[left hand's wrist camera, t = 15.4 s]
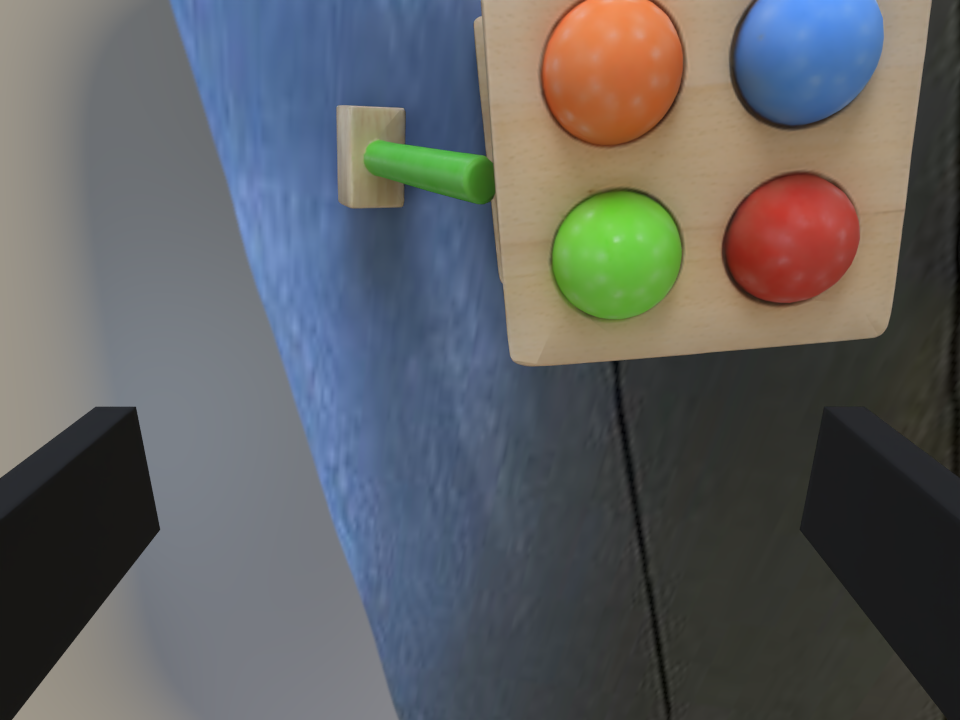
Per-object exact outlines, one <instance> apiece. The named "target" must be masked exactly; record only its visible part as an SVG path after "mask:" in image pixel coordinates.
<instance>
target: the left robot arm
mask: <svg viewBox="0 0 960 720" xmlns="http://www.w3.org/2000/svg"><path fill="white" fill-rule="evenodd" d="M958 261H959V270H960V235H959V244H958ZM159 530H160V526H159V522H158V516H157V511H156V506H155V501H154V496H153V491H152V486H151V481H150V476H149V471H148V466H147V461H146V456H145V451H144V445H143V440H142V435H141V430H140V425H139V420H138V415H137V410H136V407H95V408H93V409H92V410H91V411H89V412H88V413H87V414H85V415H84V416H83V417H81V418H80V419H79V420H77V421H76V422H75V423H73V424H72V425H71V426H69V427H68V428H67V429H65V430H64V431H63V432H61V433H60V434H59V435H57V436H56V437H55V438H53V439H52V440H51V441H49V442H48V443H47V444H45V445H44V446H43V447H41V448H40V449H39V450H37V451H36V452H35V453H33V454H32V455H31V456H29V457H28V458H27V459H25V460H24V461H23V462H21V463H20V464H19V465H17V466H16V467H15V468H13V469H12V470H11V471H9V472H8V473H7V474H5V475H4V476H3V477H1V478H0V720H12V719H13V718H14V716H15V715H16V714H17V713H18V711H19V710H20V709H21V707H22V706H23V705H24V704H25V702H26V701H27V700H28V699H29V697H30V696H31V695H32V693H33V692H34V691H35V690H36V688H37V687H38V686H39V684H40V683H41V682H42V681H43V679H44V678H45V677H46V675H47V674H48V673H49V671H50V670H51V669H52V668H53V666H54V665H55V664H56V663H57V661H58V660H59V659H60V657H61V656H62V655H63V654H64V652H65V651H66V650H67V648H68V647H69V646H70V645H71V643H72V642H73V641H74V639H75V638H76V637H77V636H78V634H79V633H80V632H81V630H82V629H83V628H84V627H85V625H86V624H87V623H88V621H89V620H90V619H91V618H92V616H93V615H94V614H95V613H96V611H97V610H98V609H99V607H100V606H101V605H102V603H103V602H104V601H105V600H106V598H107V597H108V596H109V595H110V593H111V592H112V591H113V589H114V588H115V587H116V586H117V584H118V583H119V582H120V580H121V579H122V578H123V577H124V575H125V574H126V573H127V572H128V570H129V569H130V568H131V566H132V565H133V564H134V562H135V561H136V560H137V559H138V557H139V556H140V555H141V554H142V552H143V551H144V550H145V548H146V547H147V546H148V545H149V543H150V542H151V541H152V539H153V538H154V537H155V536H156V534H157V533H158V532H159ZM800 530H801V532H802V533H803V534H804V536H805V537H806V538H807V539H808V541H809V542H810V543H811V545H812V546H813V547H814V548H815V550H816V551H817V552H818V554H819V555H820V556H821V557H822V559H823V560H824V561H825V563H826V564H827V565H828V566H829V568H830V569H831V570H832V572H833V573H834V574H835V575H836V577H837V578H838V579H839V580H840V582H841V583H842V584H843V586H844V587H845V588H846V589H847V591H848V592H849V593H850V595H851V596H852V597H853V598H854V600H855V601H856V602H857V604H858V605H859V606H860V607H861V609H862V610H863V611H864V613H865V614H866V615H867V616H868V618H869V619H870V620H871V622H872V623H873V624H874V625H875V627H876V628H877V629H878V631H879V632H880V633H881V634H882V636H883V637H884V638H885V640H886V641H887V642H888V643H889V645H890V646H891V647H892V648H893V650H894V651H895V652H896V654H897V655H898V656H899V657H900V659H901V660H902V661H903V663H904V664H905V665H906V666H907V668H908V669H909V670H910V672H911V673H912V674H913V675H914V677H915V678H916V679H917V681H918V682H919V683H920V684H921V686H922V687H923V688H924V690H925V691H926V692H927V693H928V695H929V696H930V697H931V699H932V700H933V701H934V702H935V704H936V705H937V706H938V708H939V709H940V710H941V711H942V713H943V714H944V715H945V716H946V718H947V719H948V720H960V478H959V477H958V476H956V475H955V474H953V473H952V472H951V471H949V470H948V469H947V468H945V467H944V466H943V465H941V464H940V463H939V462H937V461H936V460H935V459H933V458H932V457H931V456H929V455H928V454H927V453H925V452H924V451H923V450H921V449H920V448H919V447H917V446H916V445H915V444H913V443H912V442H911V441H909V440H908V439H907V438H905V437H904V436H903V435H901V434H900V433H899V432H897V431H896V430H895V429H893V428H892V427H891V426H889V425H888V424H887V423H885V422H884V421H883V420H881V419H880V418H879V417H877V416H876V415H875V414H873V413H872V412H871V411H869V410H868V409H867V408H865V407H824V410H823V415H822V420H821V425H820V430H819V435H818V440H817V445H816V451H815V456H814V461H813V466H812V471H811V476H810V481H809V486H808V491H807V496H806V501H805V506H804V511H803V516H802V521H801V526H800Z"/></svg>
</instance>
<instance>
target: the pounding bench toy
mask: <svg viewBox="0 0 960 720" xmlns="http://www.w3.org/2000/svg"><path fill="white" fill-rule="evenodd" d="M931 2H932V0H481V11H482V16H480V17H478V18H476V20H475V21H474V36H475V48H476V58H477V69H478V79H479V88H480V98H481V108H482V118H483V128H484V138H485V148H486V156H483V155H476V154H469V153H460V152H453V151H446V150H439V149H432V148H425V147H418V146H412V145H405V115H406V113H405V110H404V108H393V107H369V106H348V105H338V106H337V164H338V200H339V202H340V203H341V204H343V205H345V206H347V207H349V208H390V207H402V206H403V204H404V184H407V185H410V186H413V187H417V188H420V189H424V190H427V191H430V192H434V193H438V194H442V195H445V196H449V197H453V198H457V199H460V200H464V201H468V202H472V203H476V204H485V203H488V202H490V201H491V206H492V216H493V225H494V235H495V245H496V253H497V262H498V271H499V277H500V281H501V282H502V283H503V289H504V300H505V312H506V323H507V335H508V343H509V351H510V357H511V358H512V360H513V361H514V362H515V363H517V364H521V365H524V366H549V365H564V364H577V363H591V362H603V361H616V360H628V359H641V358H653V357H665V356H677V355H689V354H699V353H708V352H719V351H731V350H743V349H756V348H767V347H779V346H790V345H801V344H812V343H823V342H835V341H845V340H856V339H866V338H875V337H877V336H879V335H881V334H882V333H883V332H884V331H885V329H886V328H887V326H888V323H889V319H890V314H891V309H892V303H893V297H894V290H895V282H896V275H897V267H898V259H899V251H900V243H901V235H902V227H903V220H904V213H905V205H906V197H907V188H908V179H909V170H910V161H911V153H912V145H913V138H914V131H915V123H916V116H917V108H918V101H919V94H920V86H921V78H922V70H923V63H924V57H925V51H926V42H927V33H928V25H929V17H930V9H931Z"/></svg>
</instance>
